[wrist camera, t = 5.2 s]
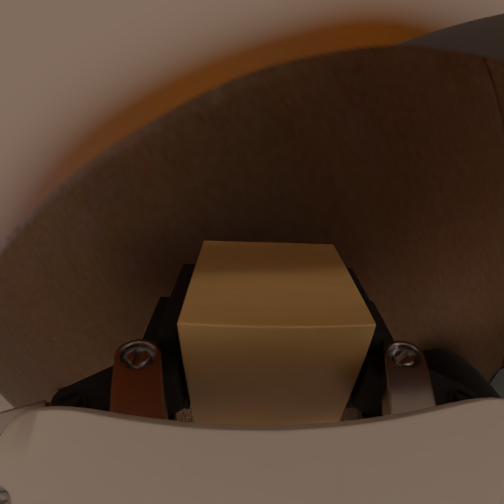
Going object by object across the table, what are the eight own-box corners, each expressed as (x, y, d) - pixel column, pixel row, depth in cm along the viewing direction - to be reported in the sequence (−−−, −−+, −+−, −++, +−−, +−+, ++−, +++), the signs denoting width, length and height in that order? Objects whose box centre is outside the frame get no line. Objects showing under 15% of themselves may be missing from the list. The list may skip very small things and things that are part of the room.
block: (203, 239, 11) (176, 323, 7) (333, 243, 11) (377, 324, 7) (208, 339, 13) (195, 430, 9) (315, 341, 13) (336, 429, 9)
